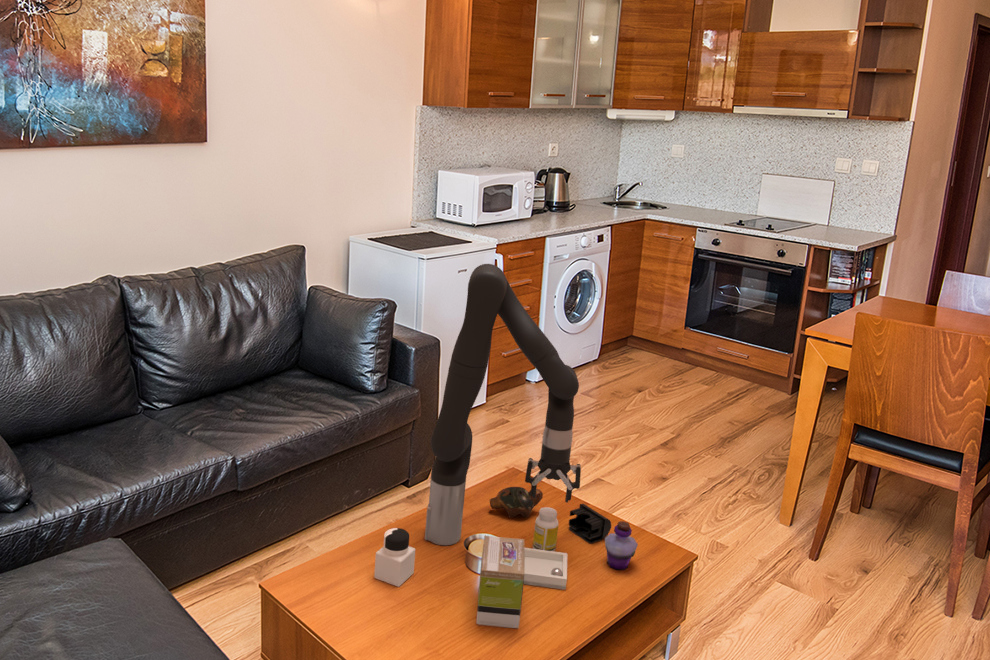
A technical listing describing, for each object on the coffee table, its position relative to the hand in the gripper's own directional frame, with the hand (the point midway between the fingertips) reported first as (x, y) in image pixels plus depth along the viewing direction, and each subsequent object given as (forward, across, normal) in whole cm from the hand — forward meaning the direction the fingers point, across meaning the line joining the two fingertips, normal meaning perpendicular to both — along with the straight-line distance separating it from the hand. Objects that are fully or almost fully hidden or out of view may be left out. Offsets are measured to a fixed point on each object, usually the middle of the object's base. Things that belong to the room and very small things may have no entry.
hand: (550, 499), depth 219 cm
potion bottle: (+15, +19, -3) cm, 25 cm away
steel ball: (+14, +3, -15) cm, 21 cm away
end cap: (+15, +12, +11) cm, 22 cm away
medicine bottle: (+15, -36, -22) cm, 45 cm away
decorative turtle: (+15, -9, +17) cm, 24 cm away
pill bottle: (+15, 0, 0) cm, 15 cm away
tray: (+15, -1, -12) cm, 19 cm away
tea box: (+15, -10, -29) cm, 34 cm away
